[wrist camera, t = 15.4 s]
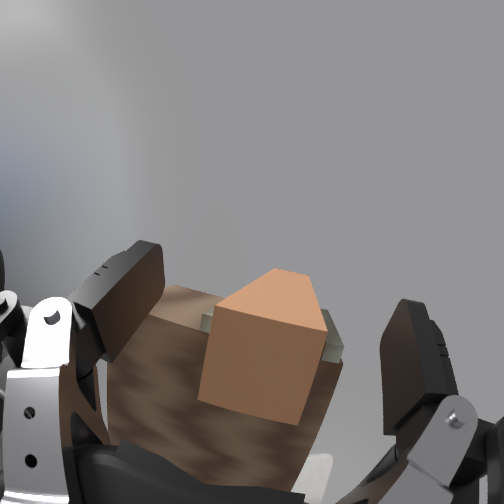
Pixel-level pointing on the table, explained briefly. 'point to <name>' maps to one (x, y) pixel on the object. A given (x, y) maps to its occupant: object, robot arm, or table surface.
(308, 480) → the table surface
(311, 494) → the table surface
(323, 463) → the table surface
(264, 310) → the tan wooden block
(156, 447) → the stand
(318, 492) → the table surface
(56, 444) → the robot arm
